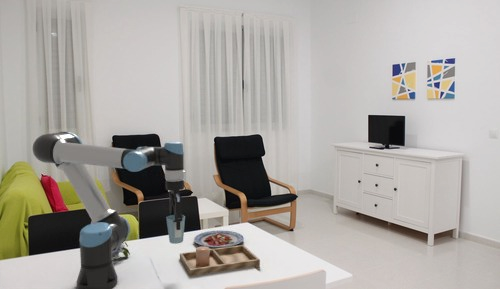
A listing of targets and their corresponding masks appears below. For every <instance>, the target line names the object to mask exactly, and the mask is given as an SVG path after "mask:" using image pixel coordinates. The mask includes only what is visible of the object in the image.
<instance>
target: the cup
mask: <svg viewBox="0 0 500 289" xmlns="http://www.w3.org/2000/svg"><path fill="white" fill-rule="evenodd" d="M165 218H166V226H167V233H168V240H169V243H170V244H174V245H176V244H182V243H183V242H184V236H185V221H186V216H185V215H184V214H182V219H183V220H182V221H181V230H182V237H178V238H175V230H174V222H173V221H175V216H174V215H170V214H169V215H168V216H166V217H165ZM178 219H179V218H178Z"/></svg>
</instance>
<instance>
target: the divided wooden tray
mask: <svg viewBox="0 0 500 289" xmlns="http://www.w3.org/2000/svg"><path fill="white" fill-rule="evenodd" d="M179 260H180V262H181V263H182V265H183V266H184V268H185V270H186V271H187V274H188V275H189V276H190V277H193V276H200V275H205V274H212V273H219V272H220V273H221V272H225V271H233V270H238V269H245V268H250V267H253V268H254V269H258V268H259V269H260V268H261V259H259V257H258V256H257V255H255V254H254V253H253V252H252V251H251V250H250V249H249V248H247V247H246V246H245V245H244V244H241V245H234V246H229V247H216V248H212V249H211V248H210V265H209V266H206V267H198V266H196V250H194V251H189V252H181V253H179Z"/></svg>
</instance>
